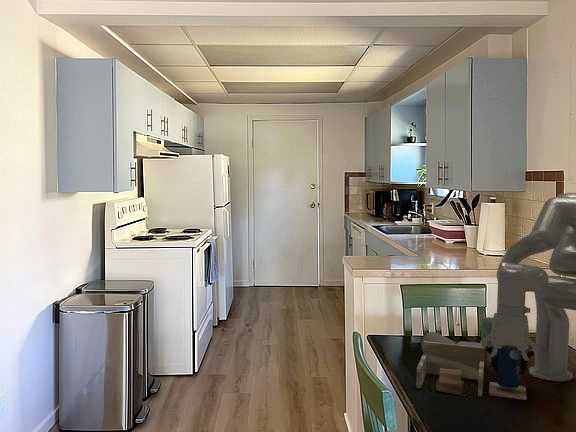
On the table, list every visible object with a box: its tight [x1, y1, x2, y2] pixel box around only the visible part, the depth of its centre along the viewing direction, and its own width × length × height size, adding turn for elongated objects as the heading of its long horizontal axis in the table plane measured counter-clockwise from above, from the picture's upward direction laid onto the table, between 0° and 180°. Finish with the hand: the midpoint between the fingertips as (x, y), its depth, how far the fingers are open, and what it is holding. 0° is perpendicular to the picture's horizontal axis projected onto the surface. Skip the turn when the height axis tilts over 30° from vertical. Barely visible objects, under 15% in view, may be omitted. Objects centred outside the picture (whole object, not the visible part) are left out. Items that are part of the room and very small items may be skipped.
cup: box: [480, 316, 493, 348], centre depth 217 cm, size 8×8×10 cm
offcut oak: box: [438, 368, 462, 385], centre depth 169 cm, size 4×6×3 cm, turn 74°
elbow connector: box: [420, 331, 483, 351], centre depth 196 cm, size 18×10×20 cm
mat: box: [488, 381, 528, 401], centre depth 169 cm, size 10×10×1 cm
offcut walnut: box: [435, 378, 465, 395], centre depth 170 cm, size 4×7×3 cm, turn 63°
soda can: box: [495, 346, 522, 389], centre depth 169 cm, size 7×7×12 cm
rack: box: [415, 341, 486, 398], centre depth 175 cm, size 16×18×10 cm
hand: (508, 370), depth 169 cm, fingers closed on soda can, 7 cm apart
